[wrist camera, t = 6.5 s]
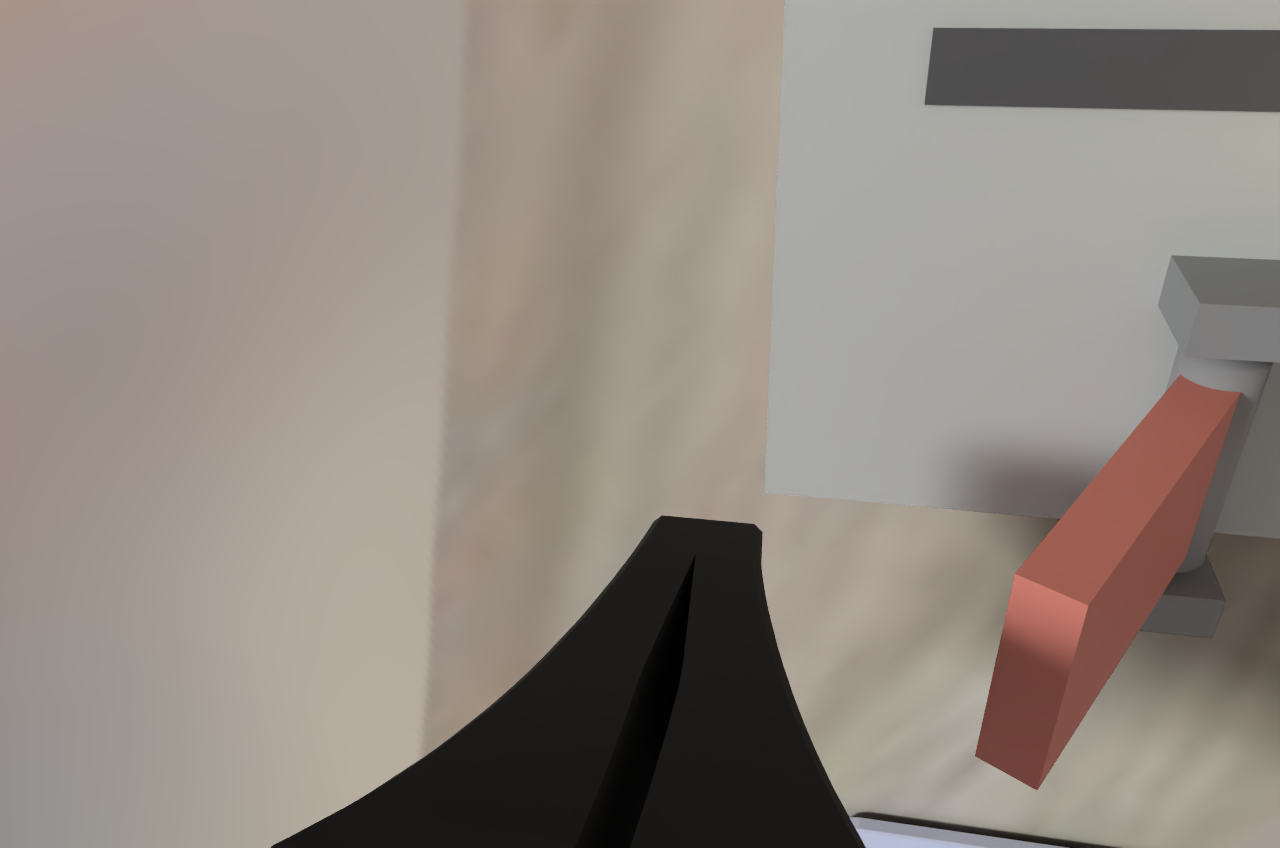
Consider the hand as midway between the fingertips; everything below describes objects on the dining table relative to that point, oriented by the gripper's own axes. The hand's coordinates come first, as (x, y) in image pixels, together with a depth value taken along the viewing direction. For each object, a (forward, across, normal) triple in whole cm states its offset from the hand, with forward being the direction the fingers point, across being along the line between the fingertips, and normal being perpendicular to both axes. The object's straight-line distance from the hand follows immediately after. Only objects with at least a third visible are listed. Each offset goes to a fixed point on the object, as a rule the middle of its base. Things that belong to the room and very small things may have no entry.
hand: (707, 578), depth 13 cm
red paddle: (+4, -7, 0) cm, 8 cm away
